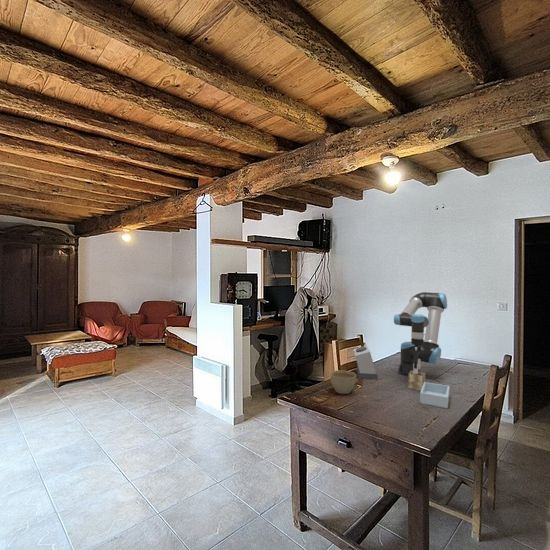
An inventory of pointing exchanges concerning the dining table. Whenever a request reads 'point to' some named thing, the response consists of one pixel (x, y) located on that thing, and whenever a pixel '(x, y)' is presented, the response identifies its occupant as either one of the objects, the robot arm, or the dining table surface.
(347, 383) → the planter bowl
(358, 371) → the alarm clock
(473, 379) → the dining table surface
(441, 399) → the light blue crate
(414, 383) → the birch crate
